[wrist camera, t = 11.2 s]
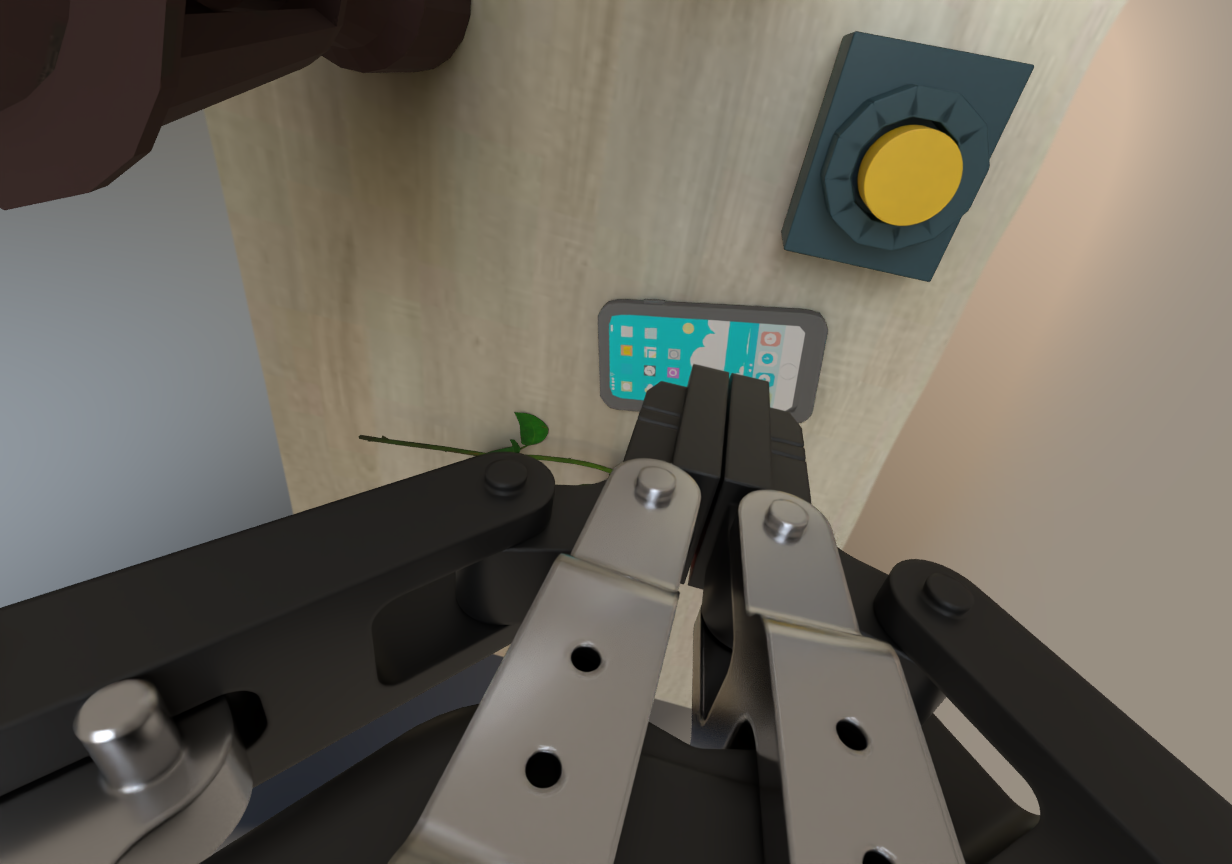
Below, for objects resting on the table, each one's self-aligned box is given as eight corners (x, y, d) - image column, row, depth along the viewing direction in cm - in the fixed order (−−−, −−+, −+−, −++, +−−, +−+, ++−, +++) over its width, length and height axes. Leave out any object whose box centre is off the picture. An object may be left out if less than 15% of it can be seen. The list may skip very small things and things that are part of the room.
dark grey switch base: (843, 34, 29) (861, 28, 24) (1003, 65, 29) (1055, 65, 24) (780, 232, 35) (784, 260, 30) (913, 262, 34) (940, 294, 29)
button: (877, 116, 26) (886, 119, 24) (966, 134, 26) (981, 138, 24) (844, 207, 28) (849, 215, 27) (925, 224, 28) (936, 234, 26)
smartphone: (809, 430, 40) (600, 411, 43) (808, 422, 41) (603, 404, 44) (832, 312, 36) (596, 299, 38) (830, 306, 36) (599, 294, 39)
